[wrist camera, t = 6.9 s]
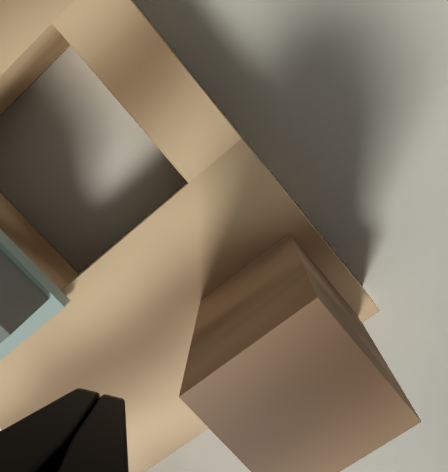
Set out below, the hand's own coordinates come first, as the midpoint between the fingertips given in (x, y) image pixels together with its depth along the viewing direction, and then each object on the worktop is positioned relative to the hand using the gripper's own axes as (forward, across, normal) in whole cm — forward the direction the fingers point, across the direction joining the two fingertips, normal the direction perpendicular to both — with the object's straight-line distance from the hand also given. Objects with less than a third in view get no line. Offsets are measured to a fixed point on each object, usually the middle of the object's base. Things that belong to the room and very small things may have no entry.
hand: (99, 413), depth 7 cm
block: (+9, -4, +1) cm, 10 cm away
